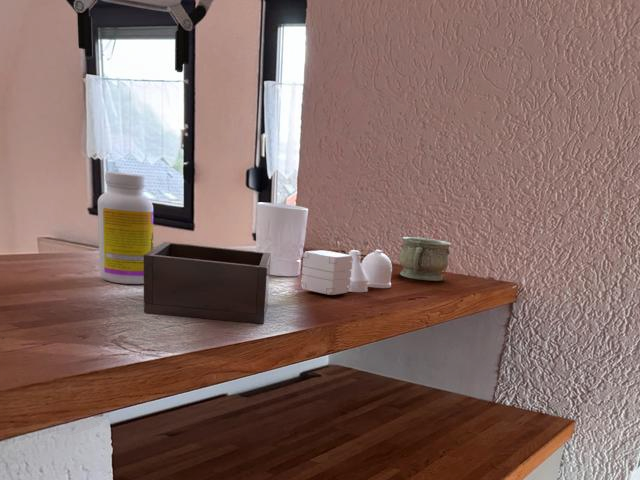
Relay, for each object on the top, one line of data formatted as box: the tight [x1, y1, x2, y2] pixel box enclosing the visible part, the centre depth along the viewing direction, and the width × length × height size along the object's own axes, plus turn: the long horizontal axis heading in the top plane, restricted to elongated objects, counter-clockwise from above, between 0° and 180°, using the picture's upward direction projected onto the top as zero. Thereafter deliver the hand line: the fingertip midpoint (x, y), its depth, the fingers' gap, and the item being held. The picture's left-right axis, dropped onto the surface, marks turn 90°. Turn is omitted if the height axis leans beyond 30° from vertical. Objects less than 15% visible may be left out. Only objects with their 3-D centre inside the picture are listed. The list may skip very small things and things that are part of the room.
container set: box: [300, 249, 393, 296], centre depth 107 cm, size 20×5×6 cm, turn 151°
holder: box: [143, 241, 271, 325], centre depth 84 cm, size 13×13×6 cm
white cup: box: [255, 201, 309, 277], centre depth 113 cm, size 8×8×10 cm
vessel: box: [398, 236, 452, 282], centre depth 128 cm, size 12×9×6 cm
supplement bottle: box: [97, 170, 154, 285], centre depth 92 cm, size 7×7×13 cm
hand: (134, 64), depth 82 cm, fingers open, 9 cm apart
